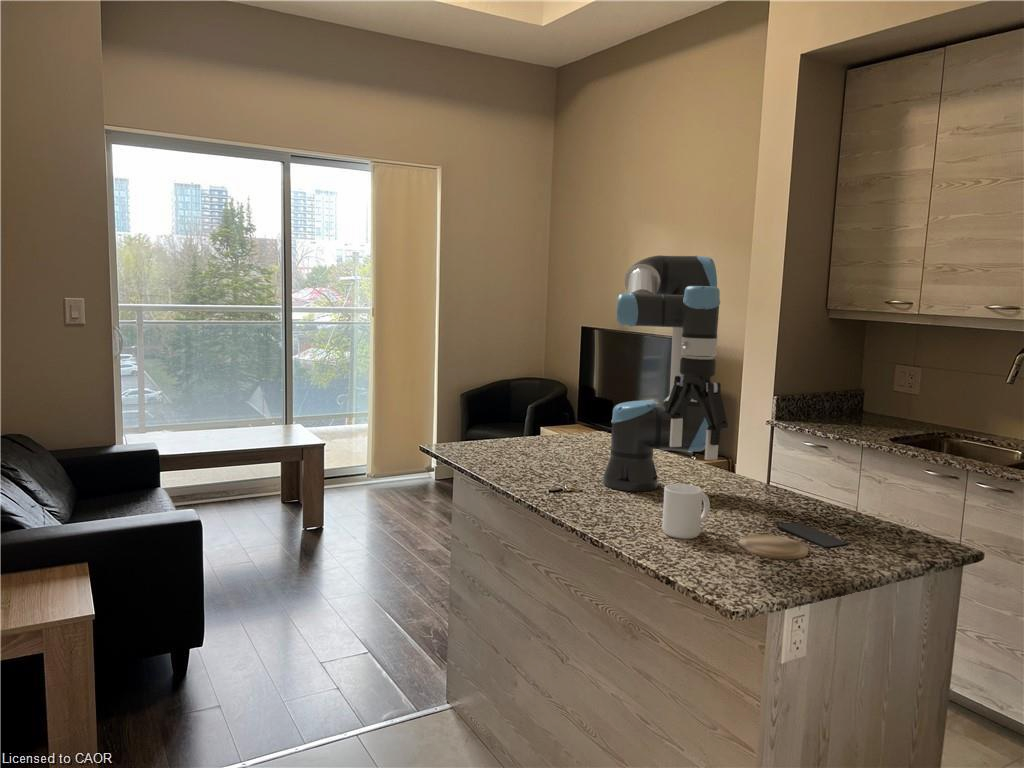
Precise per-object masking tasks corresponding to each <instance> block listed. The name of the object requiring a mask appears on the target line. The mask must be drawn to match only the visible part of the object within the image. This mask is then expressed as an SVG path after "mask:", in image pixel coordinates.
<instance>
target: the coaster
mask: <svg viewBox="0 0 1024 768" xmlns="http://www.w3.org/2000/svg"><path fill="white" fill-rule="evenodd" d="M738 546H739V547H740V549H742V550H744V551H745V552H747V553H749V554H752V555H756V556H759V557H763V558H767V559H772V560H780V561H781V560H783V561H786V560H787V561H789V560H790V561H792V560H793V561H794V560H798V559H799V560H801V559H803V558H806V557H807V556H808V555H809V548H808V546H806V545H805V544H804V543H803V542H800V541H797V540H795V539H792V538H790V537H785V536H781V535H774V534H766V533H765V534H761V533H759V534H758V533H757V534H748V535H744V536H741V537H740V538H738Z"/></svg>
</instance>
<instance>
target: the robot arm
mask: <svg viewBox="0 0 1024 768" xmlns="http://www.w3.org/2000/svg"><path fill="white" fill-rule="evenodd" d="M624 286H625V290H626V293H620V294H618V296H617V301H616V323H617V324H618V325H620V326H629V327H631V328H632V327H652V328H653V327H655V328H656V327H661V328H672V331H671V333H672V335H671V336H672V338H671V357H670V382H669V395H668V396H667V397H666V398H664V400H663V406H662V407H661V406H657V404H656V401H653V400H632V401H624V402H621V403H620V402H619V403H618V404H616V405H614V407H613V409H612V416H611V417H612V418H611V421H610V422H611V438H610V439H611V441H610V456H609V459H608V462H607V464H606V467H605V470H604V473H603V475H602V477H603V478H602V484H603V485H604V486H606V487H607V488H611V489H615V490H617V491H618V490H620V491H627V492H646V491H647V492H648V491H653V490H655V489H657V488H658V487H659V478H658V474H657V473H658V472H657V470H656V469H657V468H656V466H655V465H656V464H655V462H654V455H653V454H654V450H662V451H663V450H664V451H675V452H676V451H678V452H680V451H681V452H687V453H689V452H702V451H704V460H705V461H711V460H712V461H715V460H716V461H717V460H718V455H719V453H718V452H719V446H720V441H721V440H720V437H721V436H720V435H721V430H723V429H728V426H729V424H728V420H727V415H726V411H725V407H724V402H723V399H722V398H723V397H722V394H721V392H722V391H721V383H720V382H711V377H714V376H715V375H716V366H717V365H716V364H717V361H716V360H715V358H714V357H717V353H718V352H717V351H718V347H717V346H718V327H719V326H718V324H719V315H720V314H719V313H720V305H721V299H720V296H721V295H720V294H721V292H720V288H719V287H718V275H717V269H716V265H715V261H714V259H713V258H711V257H709V256H699V255H653V256H648V257H646V258H643V259H641V260H639V261H637V262H635V263H634V264H632V265H631V267H629V269H628V270H627V272H626V274H625V278H624Z"/></svg>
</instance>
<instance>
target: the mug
mask: <svg viewBox="0 0 1024 768" xmlns="http://www.w3.org/2000/svg"><path fill="white" fill-rule="evenodd" d="M703 491H704V490H703V489H702V488H701V487H699V486H697V485H692V484H686V483H669V484H666V485H665V486H664V490H663V506H662V507H663V508H662V510H663V511H662V521H661V522H662V524H661V526H662V532H663V533H664V534H665V535H667V536H668V537H672V538H675V539H683V540H688V539H689V540H690V539H695V538H698V536H699V535H700V534H701V524H702V523H703V522H705V521H706V520H707V518H708V517H709V514H710V511H711V509H710V508H711V504H710V499H709V496H708V495H707V494H705V493H704V492H703ZM702 506H703V511H702Z"/></svg>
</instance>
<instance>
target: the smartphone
mask: <svg viewBox="0 0 1024 768" xmlns="http://www.w3.org/2000/svg"><path fill="white" fill-rule="evenodd" d="M776 529H778V530H780V531H782V532H784V533H786V534H789V535H791V536H793V537H795V538H796V537H797V538H799V539H801V540H804V541H806V542H808V543H810V544H813V545H816V546H818V547H821V548H823V549H834V548H839V547H840V548H841V547H847V546H849V542H847V541H845V540H843V539H840V538H837V537H835V536H833V535H830V534H828V533H826V532H824V531H821V530H819V529H816V528H814V527H811V526H808V525H807V524H804V523H802V522H789V523H783V524H777V525H776Z"/></svg>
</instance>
